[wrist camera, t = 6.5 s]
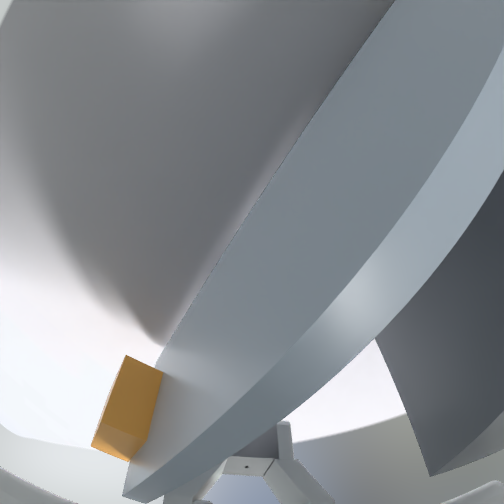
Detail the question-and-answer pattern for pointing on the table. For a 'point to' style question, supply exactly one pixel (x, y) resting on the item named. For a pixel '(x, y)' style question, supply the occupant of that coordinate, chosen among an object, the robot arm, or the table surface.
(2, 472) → the robot arm
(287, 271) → the side door
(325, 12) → the table surface
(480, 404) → the camera case
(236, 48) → the table surface
